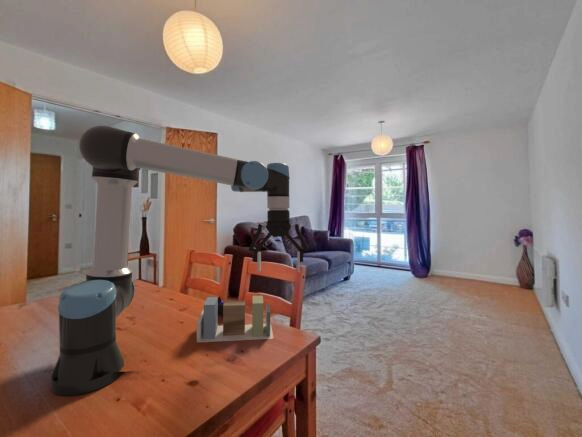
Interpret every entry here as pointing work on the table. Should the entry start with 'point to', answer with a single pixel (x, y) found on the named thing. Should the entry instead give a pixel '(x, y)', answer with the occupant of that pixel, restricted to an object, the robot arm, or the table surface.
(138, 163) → the robot arm
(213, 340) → the white book rack
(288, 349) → the table surface
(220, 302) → the character figurine
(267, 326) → the bookend
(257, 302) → the book
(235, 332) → the book
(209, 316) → the book
